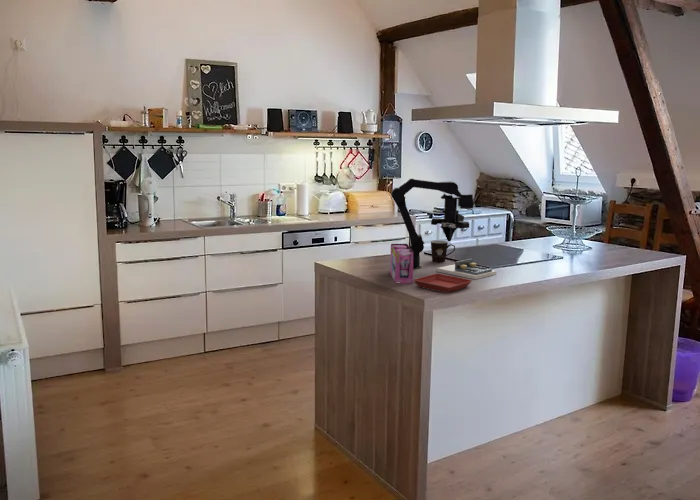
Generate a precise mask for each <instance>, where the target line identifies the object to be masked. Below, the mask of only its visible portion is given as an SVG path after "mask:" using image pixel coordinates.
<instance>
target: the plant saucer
mask: <svg viewBox="0 0 700 500" xmlns="http://www.w3.org/2000/svg"><path fill="white" fill-rule="evenodd" d="M472 280H473V279H469V278H468V279H467V278H464V277H456V276H453V275H447V274H443V273H442V274H441V273H433V274H429V275H426V276H422V277H418V278H413V282H414V283H415V284H416V285H417V286H418V287H419V286H420V288H422V287H424V288H423V289H427V288H429V289H428V290H432V289H434V290H433V291H437V290H439V292H442V291H444V292H443V293H447V292H448V293H451V292H455V291H458V290H460V289H461V290H462V289H463V288H466V287H467V286H469V285H470V283H472Z"/></svg>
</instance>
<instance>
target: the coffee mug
mask: <svg viewBox="0 0 700 500" xmlns="http://www.w3.org/2000/svg"><path fill="white" fill-rule="evenodd" d="M450 246H452V247H453V250H452V251H451V252H449V253H448V254H447V251H448V249H449V247H450ZM430 249H431V250H430V251H431V260H432V261H431V262H433V263H438V264H439V263H445V262H446V258H447V256H449V255H451V254H452V253H454V252H455V250H456V246H455V245H454V244H453V243H450V244H449V241H448V240H447V241H446V240H437V239H436V240H431V241H430Z"/></svg>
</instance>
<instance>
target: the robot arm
mask: <svg viewBox="0 0 700 500" xmlns="http://www.w3.org/2000/svg"><path fill="white" fill-rule="evenodd" d="M413 188H416V189H425V190H432V191H433V190H434V191H439V192H442V193H443V194H442V195H441V196H440V199H441V200H444V206H443V207H444V209H443V210H442V213H443V218H441V217H435V218H432V219H431V220H430V225H431V226H433V225H434V226H437V225H438V224H439V225H440V226H439V227H440V228H441V230H442V231H443V233H444V235H445V238H446V240H447V242H451V241H452V239H453V236H454V233H455V232H456V230H457V229H469V228H470V223H469V221H464V220H465V216H464V215H462V214H460V213H459V210H457V208H458V207H459V209H460V210H461V209H462V210H463V209H467V210H470V209H472V210H473V209H474V195H473V194H472V193H468V194H463V193H461V192H460V190H459V185H458V184H457V183H456V182H454V181H453V180H451V181H450V180H449V181H432V180H424V179H423V180H422V179H415V178H409V179H408V180H407V181H406V182H405V183H403V184H402V185H400V186H399V187H394V188H393V189H392V190H391V192H390V195H391V198H392V200H393V202H395V204H396V206H397V208H398V210H399V212H400V215H401V217H402V219H403V223H404V225H405V228H406V230H407V233H408V236H409V237H408V238H409V243H410V245H408V246H409V247H410V248H411V250H412V251H413V270H415V269H420V268H422V266H421V264H420V263H421V261H420V260H421V259H420V258H421V255H420V253H422V252H423V250H424V249H425V245H426V244H425V242H424V240H423V237H422V236H423V235H422V234H418V233H417V232H416V231H417V230H416V228H415V226H414V225H415V224H414V223H413V221H412V218H411V216H410V212H409V209H408V207H407V204H406V198H405V195H406V194H407V193H408V192H410V191H411V190H412V189H413ZM447 194H448V195H447ZM453 195H454V196H456V197H453Z"/></svg>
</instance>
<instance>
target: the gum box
mask: <svg viewBox="0 0 700 500" xmlns="http://www.w3.org/2000/svg"><path fill="white" fill-rule="evenodd" d="M409 246H410V245H409V244H408V243H390V263H389V264H390V265H389V266H390V270H389V271H390V272H391V273H390V275H391V277H392V279H393V282H394V281H395V282H400V283H399V284H413V282H414V269H413V251H412V250H411V248H410V247H409ZM395 282H394V283H395Z"/></svg>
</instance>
